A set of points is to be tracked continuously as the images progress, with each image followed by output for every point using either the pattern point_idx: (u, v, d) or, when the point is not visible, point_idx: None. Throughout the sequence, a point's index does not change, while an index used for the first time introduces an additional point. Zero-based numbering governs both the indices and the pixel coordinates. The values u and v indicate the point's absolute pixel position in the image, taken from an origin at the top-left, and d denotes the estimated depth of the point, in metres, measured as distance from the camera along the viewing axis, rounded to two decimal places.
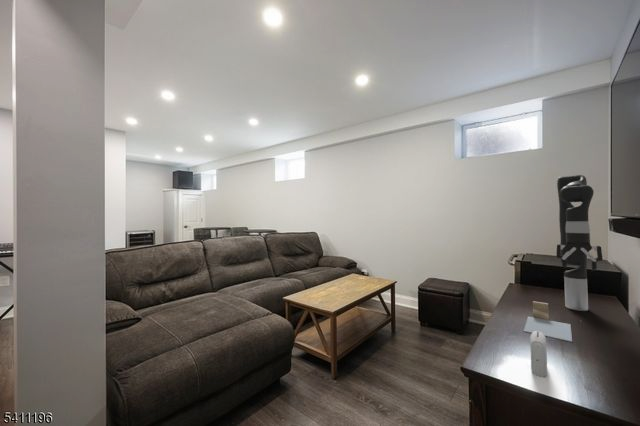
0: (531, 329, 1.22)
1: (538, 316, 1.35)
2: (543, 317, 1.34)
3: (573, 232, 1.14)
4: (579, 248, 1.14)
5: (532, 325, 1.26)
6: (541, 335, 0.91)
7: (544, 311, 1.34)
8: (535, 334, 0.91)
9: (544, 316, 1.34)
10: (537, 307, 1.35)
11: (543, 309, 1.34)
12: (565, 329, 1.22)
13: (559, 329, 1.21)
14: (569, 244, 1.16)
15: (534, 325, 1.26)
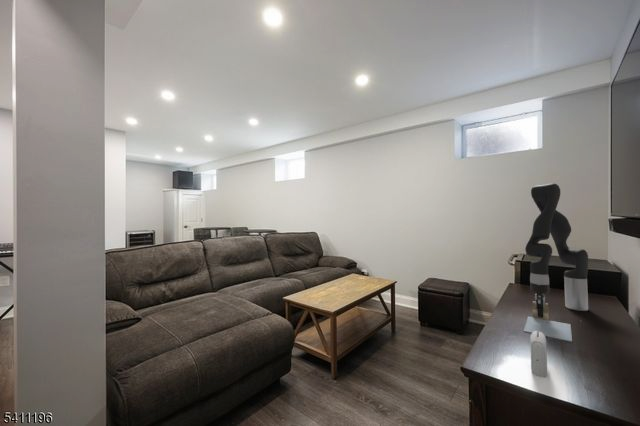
0: (531, 329, 1.22)
1: None
2: (543, 317, 1.34)
3: (548, 284, 1.32)
4: None
5: (532, 325, 1.26)
6: (541, 335, 0.91)
7: (544, 311, 1.33)
8: (535, 334, 0.91)
9: (544, 316, 1.33)
10: None
11: None
12: (565, 329, 1.22)
13: (559, 329, 1.21)
14: (542, 294, 1.33)
15: (534, 325, 1.26)
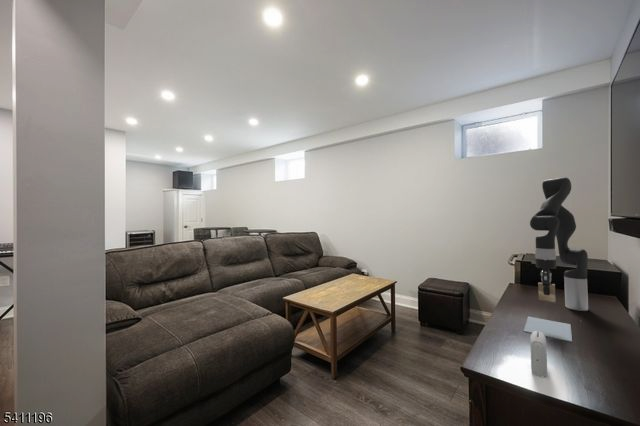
0: (531, 329, 1.22)
1: (544, 298, 1.26)
2: (549, 299, 1.25)
3: (555, 259, 1.23)
4: (549, 272, 1.26)
5: (532, 325, 1.26)
6: (541, 335, 0.91)
7: (550, 292, 1.24)
8: (535, 334, 0.91)
9: (550, 298, 1.24)
10: None
11: None
12: (565, 329, 1.22)
13: (559, 329, 1.21)
14: (548, 270, 1.23)
15: (534, 325, 1.26)
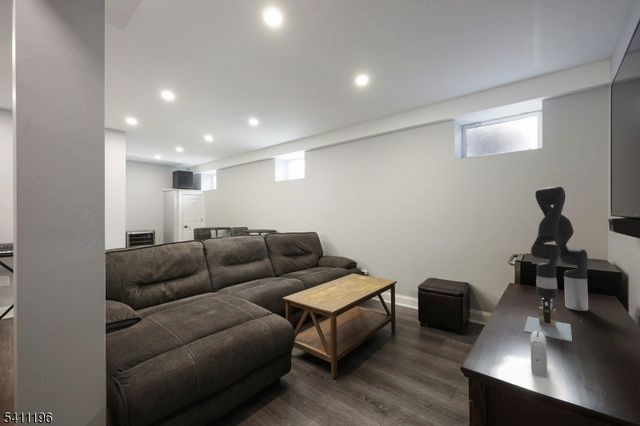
0: (531, 329, 1.22)
1: (545, 323, 1.26)
2: (550, 324, 1.24)
3: (556, 288, 1.23)
4: (550, 301, 1.26)
5: (532, 325, 1.26)
6: (541, 335, 0.91)
7: (551, 318, 1.24)
8: (535, 334, 0.91)
9: (551, 323, 1.24)
10: None
11: None
12: (565, 329, 1.22)
13: (559, 329, 1.21)
14: (549, 299, 1.23)
15: (534, 325, 1.26)
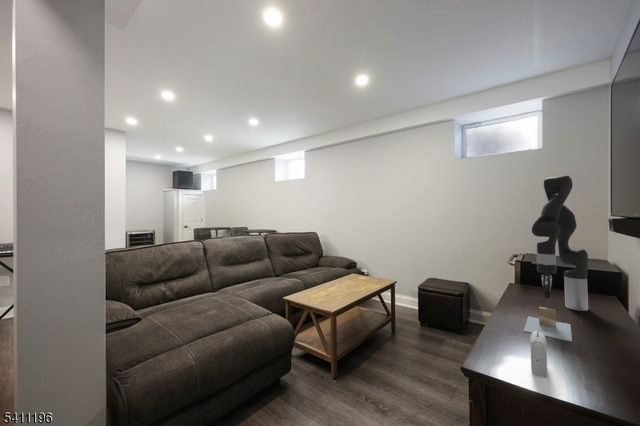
0: (531, 329, 1.22)
1: (545, 323, 1.26)
2: (550, 324, 1.24)
3: (555, 264, 1.29)
4: None
5: (532, 325, 1.26)
6: (541, 335, 0.91)
7: (551, 318, 1.24)
8: (535, 334, 0.91)
9: (551, 323, 1.24)
10: (543, 313, 1.26)
11: (550, 315, 1.24)
12: (565, 329, 1.22)
13: (559, 329, 1.21)
14: (549, 275, 1.29)
15: (534, 325, 1.26)
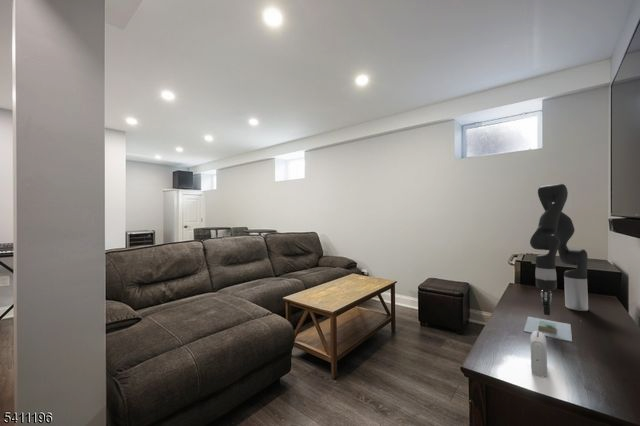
0: (531, 329, 1.22)
1: None
2: None
3: (555, 279, 1.21)
4: None
5: (532, 325, 1.26)
6: (541, 335, 0.91)
7: None
8: (535, 334, 0.91)
9: None
10: None
11: None
12: (565, 329, 1.22)
13: (559, 329, 1.21)
14: (549, 291, 1.22)
15: (534, 325, 1.26)
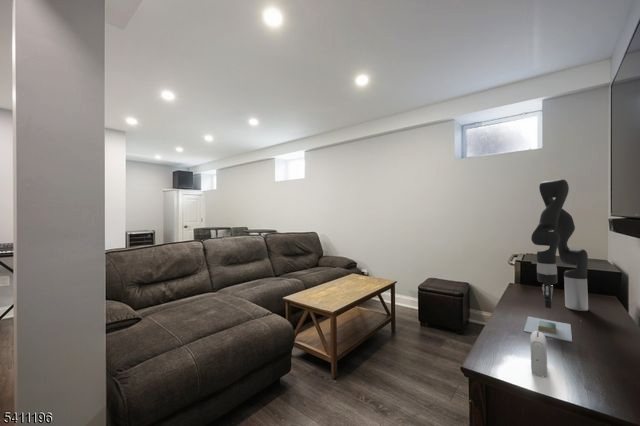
0: (531, 329, 1.22)
1: None
2: None
3: (556, 273, 1.26)
4: None
5: (532, 325, 1.26)
6: (541, 335, 0.91)
7: None
8: (535, 334, 0.91)
9: None
10: None
11: None
12: (565, 329, 1.22)
13: (559, 329, 1.21)
14: (550, 285, 1.26)
15: (534, 325, 1.26)
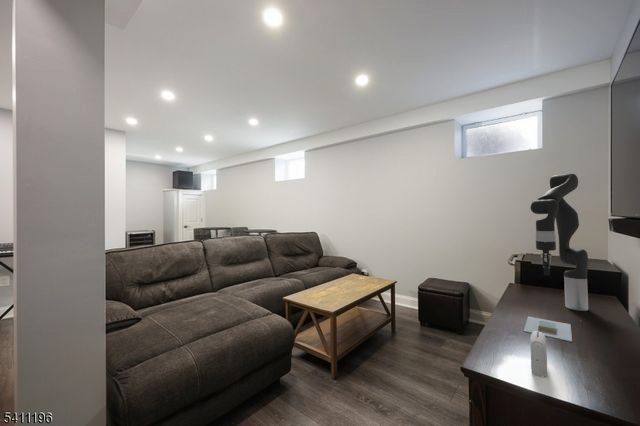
0: (531, 329, 1.22)
1: None
2: None
3: (554, 241, 1.27)
4: None
5: (532, 325, 1.26)
6: (541, 335, 0.91)
7: None
8: (535, 334, 0.91)
9: None
10: None
11: None
12: (565, 329, 1.22)
13: (559, 329, 1.21)
14: (548, 252, 1.28)
15: (534, 325, 1.26)
